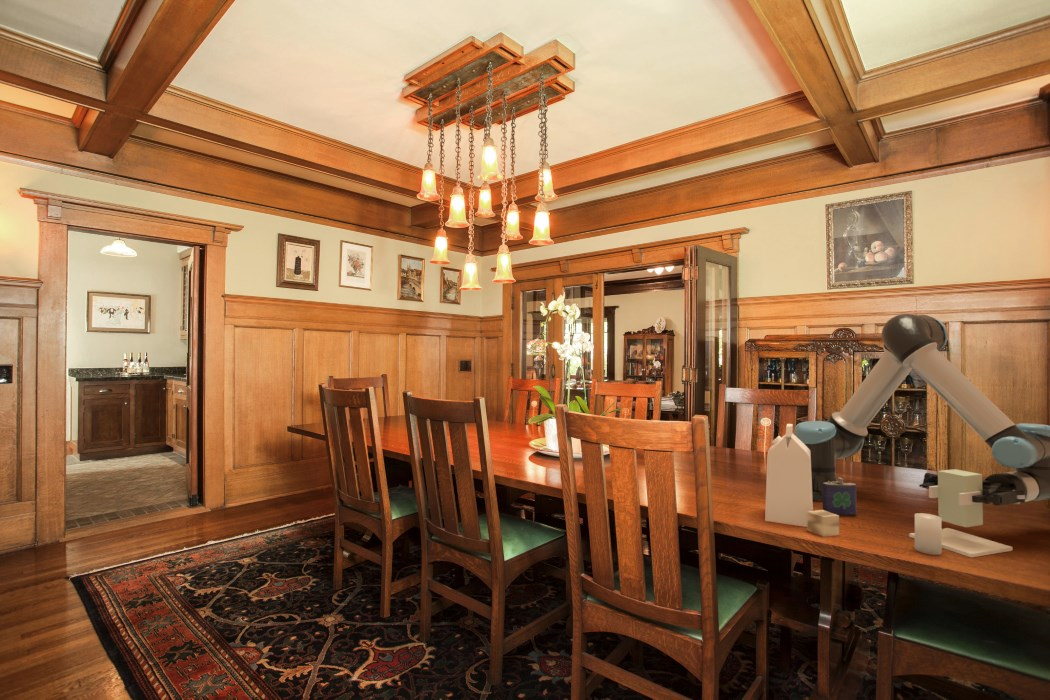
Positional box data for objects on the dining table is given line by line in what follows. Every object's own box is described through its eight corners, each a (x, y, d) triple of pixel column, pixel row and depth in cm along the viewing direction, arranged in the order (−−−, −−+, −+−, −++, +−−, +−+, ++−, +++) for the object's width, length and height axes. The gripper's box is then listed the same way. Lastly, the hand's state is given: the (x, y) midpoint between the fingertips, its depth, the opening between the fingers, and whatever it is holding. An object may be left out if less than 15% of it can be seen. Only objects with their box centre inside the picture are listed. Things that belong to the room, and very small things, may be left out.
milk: (812, 527, 138) (812, 429, 139) (765, 520, 144) (765, 426, 144) (813, 515, 149) (813, 424, 149) (768, 509, 155) (768, 421, 155)
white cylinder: (909, 548, 124) (909, 514, 124) (924, 545, 126) (924, 512, 126) (931, 555, 119) (931, 520, 119) (946, 553, 121) (946, 518, 121)
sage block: (938, 519, 129) (937, 470, 129) (955, 517, 131) (954, 469, 131) (965, 527, 123) (964, 476, 123) (983, 524, 125) (982, 474, 125)
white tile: (909, 536, 132) (909, 533, 132) (948, 530, 136) (948, 527, 136) (971, 557, 118) (971, 554, 118) (1012, 550, 123) (1012, 547, 123)
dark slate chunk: (988, 504, 162) (988, 488, 162) (913, 486, 183) (914, 473, 183) (1018, 499, 167) (1018, 484, 167) (942, 483, 188) (943, 469, 188)
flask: (853, 513, 151) (853, 476, 151) (859, 516, 148) (859, 478, 148) (820, 513, 151) (820, 476, 151) (826, 516, 148) (825, 478, 148)
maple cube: (807, 530, 136) (807, 511, 136) (822, 528, 138) (822, 509, 138) (823, 537, 132) (823, 517, 132) (839, 535, 133) (839, 515, 133)
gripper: (1057, 513, 124) (991, 523, 116) (968, 493, 142) (905, 501, 135) (1057, 481, 124) (990, 489, 117) (967, 465, 142) (905, 471, 135)
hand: (945, 495), depth 126 cm, fingers closed on sage block, 6 cm apart
